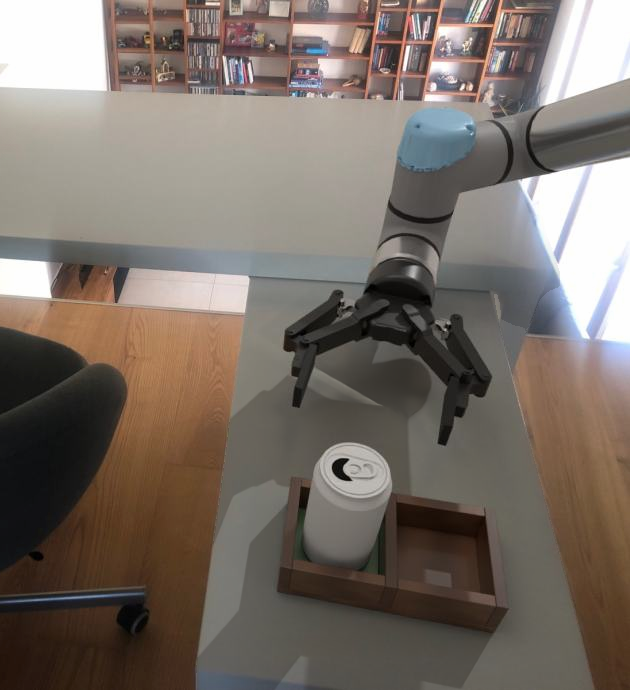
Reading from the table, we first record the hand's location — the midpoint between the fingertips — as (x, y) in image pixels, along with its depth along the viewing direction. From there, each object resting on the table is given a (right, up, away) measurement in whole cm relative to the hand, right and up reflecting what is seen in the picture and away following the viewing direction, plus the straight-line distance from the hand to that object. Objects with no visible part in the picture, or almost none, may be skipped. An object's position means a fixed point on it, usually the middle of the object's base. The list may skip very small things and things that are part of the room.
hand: (368, 416), depth 64 cm
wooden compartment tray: (+1, -14, 0) cm, 14 cm away
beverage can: (-3, -12, 0) cm, 13 cm away
